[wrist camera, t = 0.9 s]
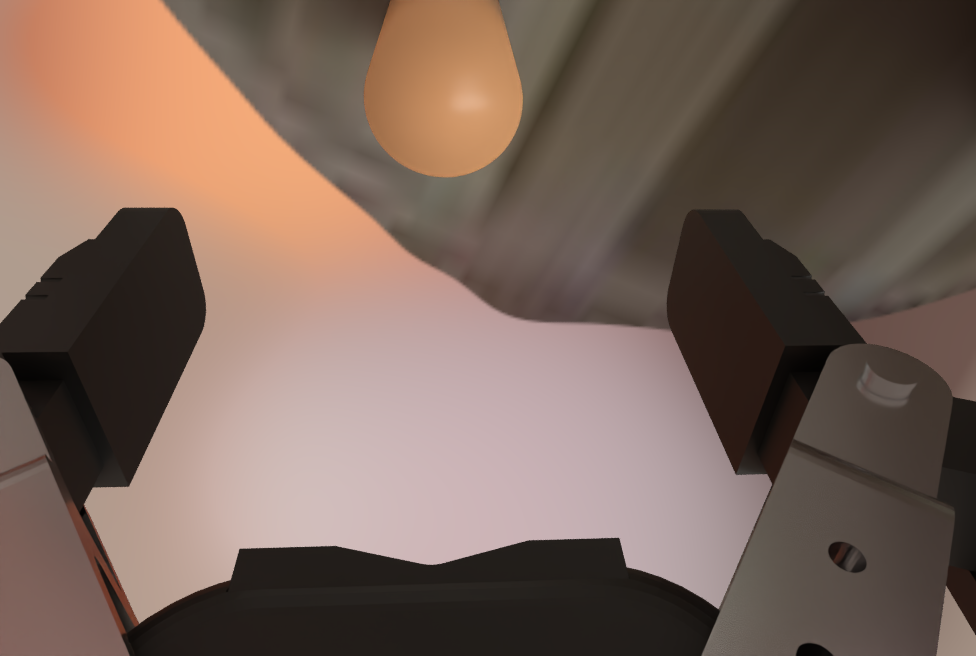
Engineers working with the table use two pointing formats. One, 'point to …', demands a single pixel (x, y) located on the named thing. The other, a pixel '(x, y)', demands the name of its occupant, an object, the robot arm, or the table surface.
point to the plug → (443, 86)
